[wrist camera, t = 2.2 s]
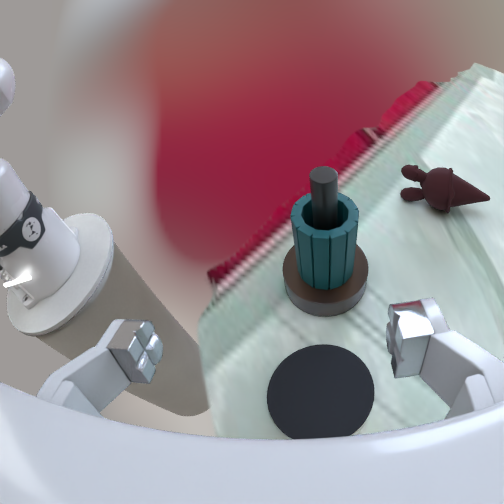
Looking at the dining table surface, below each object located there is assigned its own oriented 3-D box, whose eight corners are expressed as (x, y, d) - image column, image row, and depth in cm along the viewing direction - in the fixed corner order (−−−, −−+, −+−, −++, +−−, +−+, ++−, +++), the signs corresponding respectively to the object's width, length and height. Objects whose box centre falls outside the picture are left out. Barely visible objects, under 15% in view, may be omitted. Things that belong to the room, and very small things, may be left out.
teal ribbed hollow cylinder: (293, 285, 34) (284, 234, 27) (303, 242, 37) (297, 188, 31) (350, 292, 32) (356, 241, 25) (355, 247, 35) (359, 193, 29)
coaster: (255, 433, 27) (254, 432, 26) (282, 339, 33) (281, 337, 33) (362, 451, 23) (363, 451, 23) (379, 352, 30) (380, 350, 29)
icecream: (489, 168, 35) (402, 153, 42) (498, 187, 30) (400, 169, 37) (482, 207, 39) (400, 192, 46) (489, 230, 34) (397, 213, 41)
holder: (276, 310, 36) (250, 211, 23) (294, 244, 41) (278, 142, 29) (361, 321, 32) (383, 222, 20) (367, 252, 38) (379, 147, 26)
